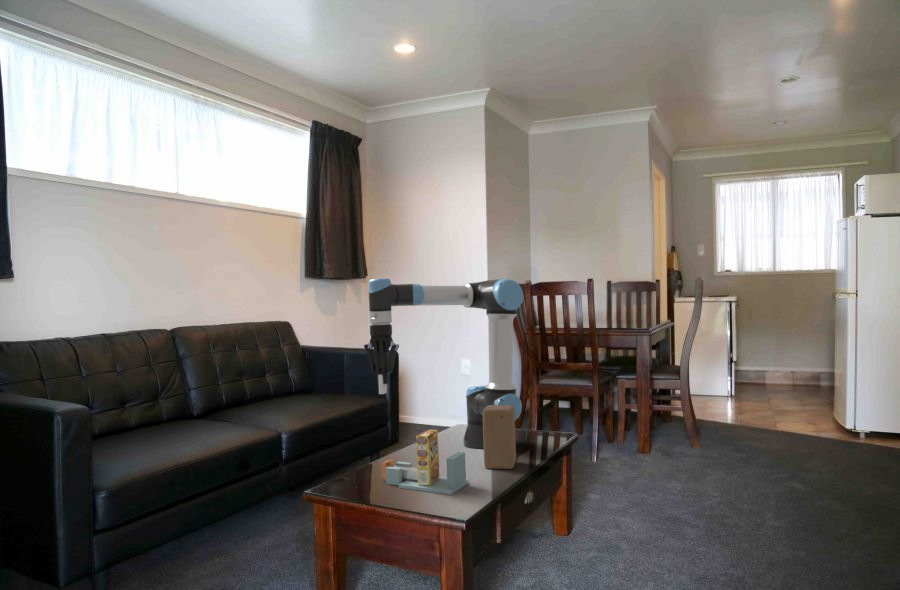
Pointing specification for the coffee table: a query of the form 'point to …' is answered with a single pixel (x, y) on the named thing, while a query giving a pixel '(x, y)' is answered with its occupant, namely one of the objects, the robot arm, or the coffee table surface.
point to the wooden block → (499, 437)
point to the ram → (406, 471)
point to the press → (441, 485)
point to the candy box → (427, 457)
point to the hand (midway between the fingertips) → (382, 393)
